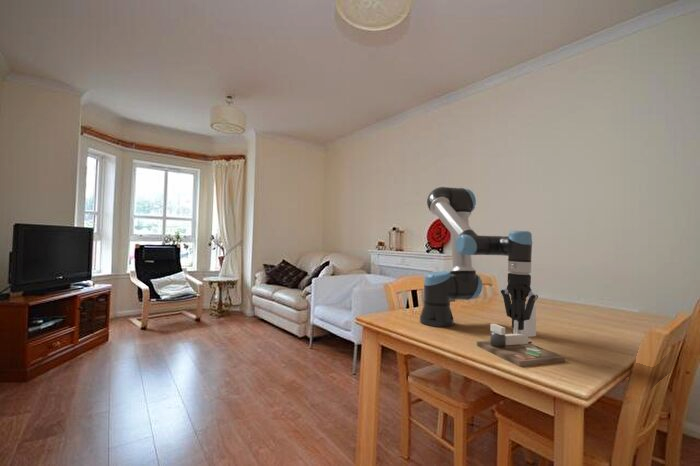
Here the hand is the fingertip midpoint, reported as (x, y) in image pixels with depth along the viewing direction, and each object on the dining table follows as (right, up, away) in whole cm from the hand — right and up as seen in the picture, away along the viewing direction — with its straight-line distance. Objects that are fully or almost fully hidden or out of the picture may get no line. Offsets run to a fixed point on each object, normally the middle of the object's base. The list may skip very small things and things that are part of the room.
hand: (517, 338), depth 117 cm
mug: (+11, -4, +16) cm, 20 cm away
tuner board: (-3, -3, -7) cm, 8 cm away
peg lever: (-4, -1, -3) cm, 5 cm away
